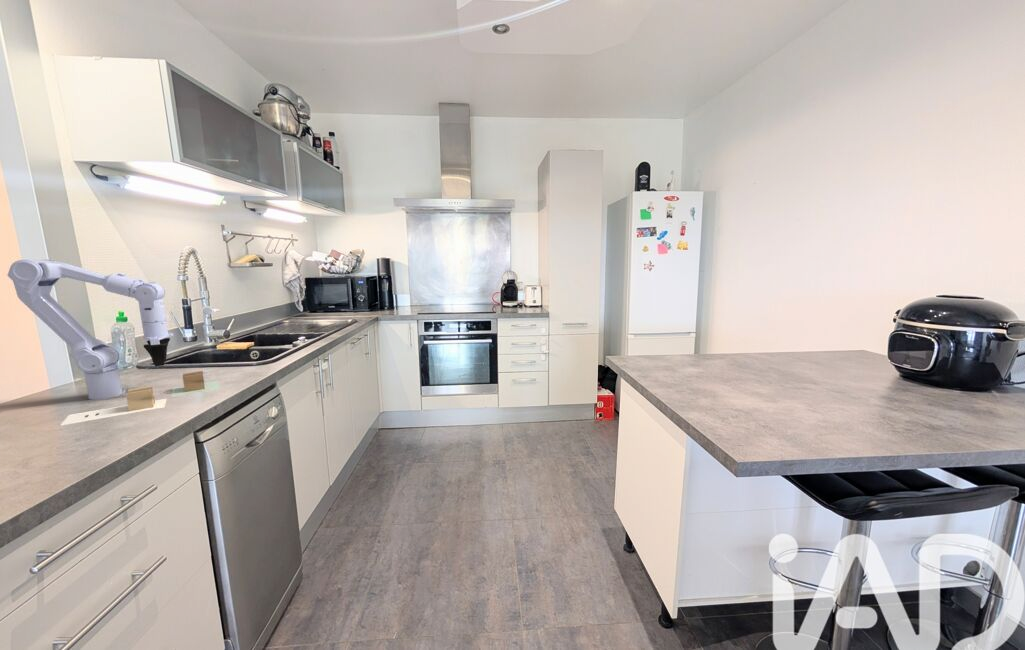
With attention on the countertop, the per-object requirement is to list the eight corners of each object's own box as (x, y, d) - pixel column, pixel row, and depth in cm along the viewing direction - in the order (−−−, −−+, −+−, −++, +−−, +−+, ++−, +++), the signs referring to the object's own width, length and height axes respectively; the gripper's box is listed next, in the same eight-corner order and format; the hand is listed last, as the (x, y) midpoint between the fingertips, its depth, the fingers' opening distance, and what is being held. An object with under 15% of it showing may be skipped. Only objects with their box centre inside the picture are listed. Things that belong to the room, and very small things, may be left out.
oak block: (131, 406, 112) (128, 389, 111) (154, 402, 115) (152, 385, 114) (129, 411, 108) (126, 394, 107) (153, 407, 111) (150, 390, 110)
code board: (69, 416, 106) (69, 414, 106) (166, 400, 118) (166, 398, 118) (60, 427, 99) (59, 425, 99) (164, 409, 111) (164, 406, 111)
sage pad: (173, 389, 128) (173, 387, 128) (218, 382, 136) (218, 380, 136) (171, 399, 119) (171, 397, 119) (220, 391, 127) (219, 389, 126)
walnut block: (185, 388, 128) (183, 373, 127) (204, 385, 131) (202, 370, 130) (184, 392, 124) (182, 377, 123) (204, 388, 127) (202, 374, 126)
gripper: (169, 322, 119) (176, 365, 122) (172, 317, 131) (178, 356, 133) (138, 325, 115) (145, 369, 117) (143, 319, 126) (150, 360, 129)
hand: (160, 363), depth 125 cm, fingers open, 7 cm apart
